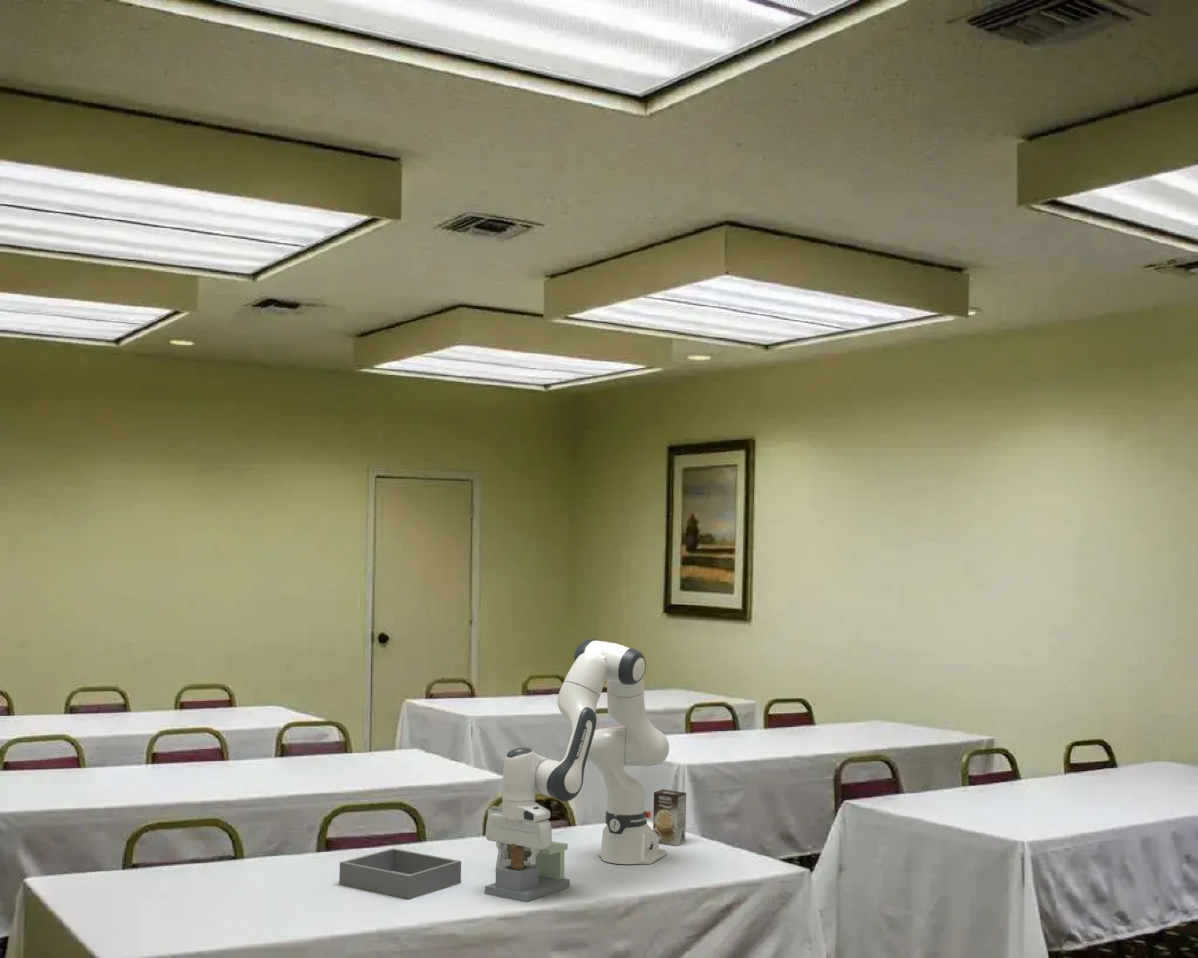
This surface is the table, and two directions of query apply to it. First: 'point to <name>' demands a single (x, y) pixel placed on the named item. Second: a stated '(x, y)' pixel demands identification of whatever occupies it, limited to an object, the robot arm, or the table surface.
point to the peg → (517, 857)
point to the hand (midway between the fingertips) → (517, 861)
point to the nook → (532, 876)
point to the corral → (380, 878)
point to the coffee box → (670, 817)
